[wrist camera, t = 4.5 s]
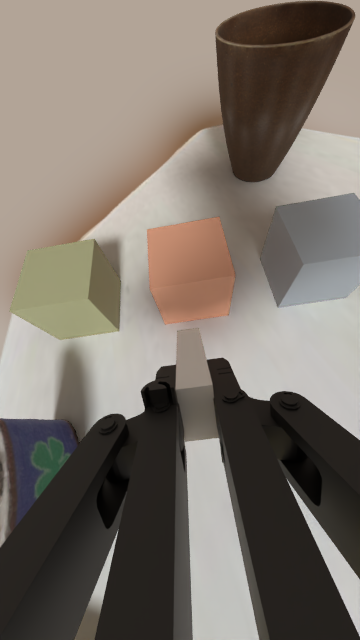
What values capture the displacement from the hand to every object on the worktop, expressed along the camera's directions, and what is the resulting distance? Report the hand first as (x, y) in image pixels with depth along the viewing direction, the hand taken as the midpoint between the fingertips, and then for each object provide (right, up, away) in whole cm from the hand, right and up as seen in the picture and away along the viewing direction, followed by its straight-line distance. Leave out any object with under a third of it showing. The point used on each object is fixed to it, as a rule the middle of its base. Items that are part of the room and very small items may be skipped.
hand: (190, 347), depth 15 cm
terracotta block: (+1, +5, +14) cm, 15 cm away
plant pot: (+13, +29, +24) cm, 40 cm away
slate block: (+15, +7, +13) cm, 21 cm away
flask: (-12, -13, +6) cm, 18 cm away
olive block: (-13, +3, +14) cm, 20 cm away
